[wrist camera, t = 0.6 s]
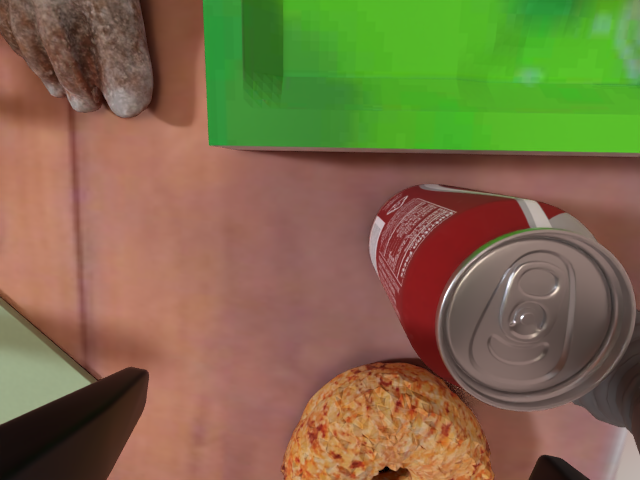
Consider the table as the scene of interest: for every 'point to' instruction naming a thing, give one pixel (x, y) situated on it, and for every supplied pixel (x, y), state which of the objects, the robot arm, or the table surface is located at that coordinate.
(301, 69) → the flat green box
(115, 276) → the table surface
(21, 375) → the mat
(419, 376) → the bagel
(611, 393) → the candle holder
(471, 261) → the soda can
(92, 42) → the sculpture
